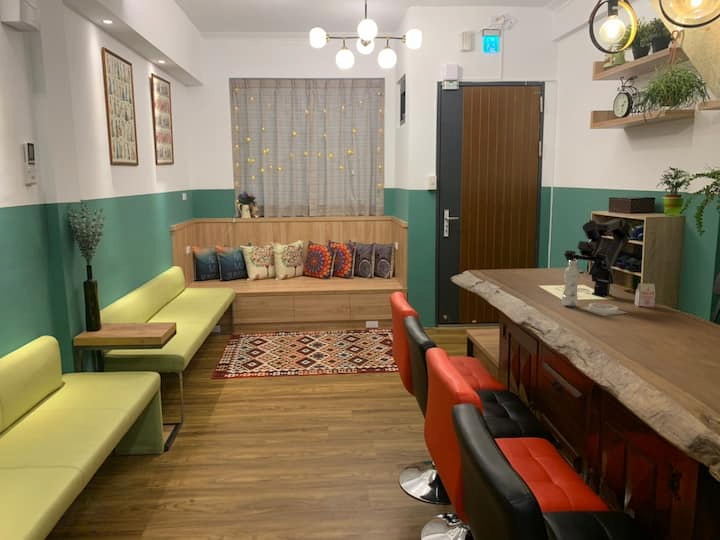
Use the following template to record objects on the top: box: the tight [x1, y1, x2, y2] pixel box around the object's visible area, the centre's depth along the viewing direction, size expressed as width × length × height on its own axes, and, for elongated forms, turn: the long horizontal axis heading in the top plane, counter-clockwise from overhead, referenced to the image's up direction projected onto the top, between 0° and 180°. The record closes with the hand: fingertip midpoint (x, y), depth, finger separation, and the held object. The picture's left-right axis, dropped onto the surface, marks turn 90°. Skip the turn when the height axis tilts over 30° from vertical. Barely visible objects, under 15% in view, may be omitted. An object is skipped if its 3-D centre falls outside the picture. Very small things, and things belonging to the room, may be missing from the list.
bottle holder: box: [579, 302, 628, 317], centre depth 242 cm, size 13×13×2 cm
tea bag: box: [634, 283, 656, 308], centre depth 251 cm, size 4×7×10 cm, turn 89°
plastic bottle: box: [561, 259, 581, 307], centre depth 247 cm, size 6×7×20 cm
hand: (579, 273), depth 253 cm, fingers open, 9 cm apart
